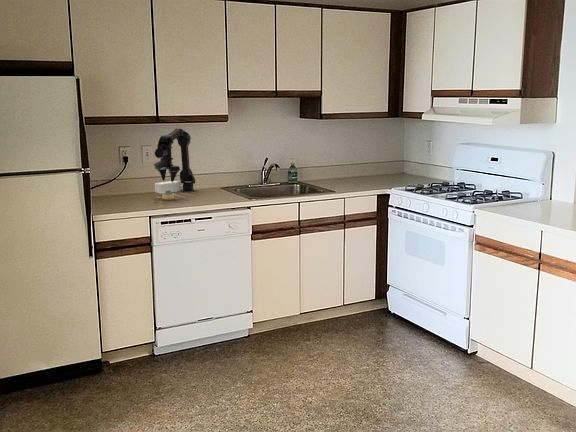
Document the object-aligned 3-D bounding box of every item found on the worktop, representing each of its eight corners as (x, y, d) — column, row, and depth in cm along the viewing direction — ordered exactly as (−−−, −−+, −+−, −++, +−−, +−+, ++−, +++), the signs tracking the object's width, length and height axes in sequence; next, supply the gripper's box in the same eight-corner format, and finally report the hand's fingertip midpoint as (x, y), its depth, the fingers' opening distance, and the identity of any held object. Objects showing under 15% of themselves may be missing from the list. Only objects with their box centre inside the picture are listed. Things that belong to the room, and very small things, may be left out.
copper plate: (180, 194, 385) (180, 192, 385) (195, 197, 374) (195, 195, 374) (154, 198, 371) (154, 196, 371) (169, 201, 360) (169, 200, 360)
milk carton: (154, 183, 386) (178, 180, 399) (155, 193, 387) (178, 190, 400) (160, 184, 381) (184, 181, 394) (160, 195, 382) (184, 191, 395)
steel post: (169, 197, 368) (168, 189, 367) (172, 198, 365) (172, 190, 364) (164, 198, 365) (164, 190, 364) (167, 199, 363) (167, 191, 362)
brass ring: (169, 196, 370) (169, 192, 370) (176, 198, 365) (176, 193, 365) (160, 198, 365) (159, 193, 364) (167, 199, 360) (166, 195, 360)
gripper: (147, 156, 360) (148, 181, 364) (164, 158, 348) (165, 184, 351) (162, 154, 368) (163, 179, 371) (179, 157, 356) (180, 182, 359)
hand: (167, 181), depth 363 cm, fingers open, 9 cm apart
